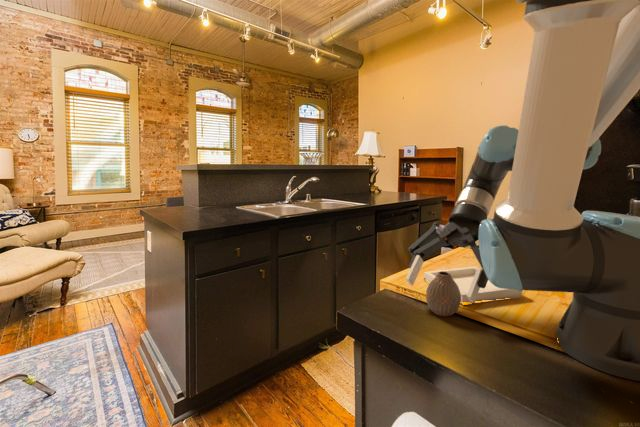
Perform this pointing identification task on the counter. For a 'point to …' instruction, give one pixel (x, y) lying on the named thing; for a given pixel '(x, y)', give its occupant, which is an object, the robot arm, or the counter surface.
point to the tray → (465, 278)
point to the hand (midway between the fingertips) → (437, 290)
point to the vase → (443, 295)
